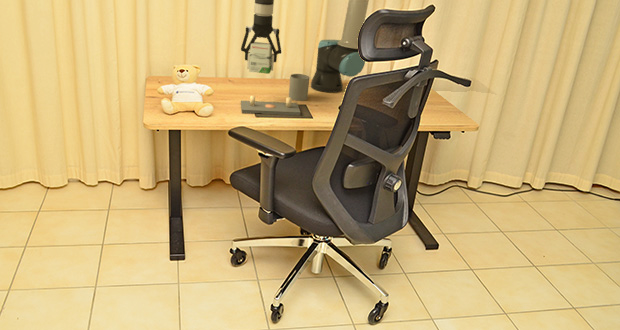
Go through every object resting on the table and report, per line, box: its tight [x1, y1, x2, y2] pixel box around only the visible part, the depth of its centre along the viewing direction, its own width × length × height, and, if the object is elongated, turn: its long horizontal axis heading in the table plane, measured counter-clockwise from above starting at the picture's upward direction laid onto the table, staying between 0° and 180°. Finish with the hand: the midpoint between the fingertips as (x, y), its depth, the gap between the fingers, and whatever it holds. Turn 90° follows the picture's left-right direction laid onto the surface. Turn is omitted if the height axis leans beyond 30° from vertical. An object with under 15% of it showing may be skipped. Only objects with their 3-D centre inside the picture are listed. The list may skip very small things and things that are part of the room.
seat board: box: [240, 95, 301, 117], centre depth 251 cm, size 24×12×6 cm, turn 98°
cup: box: [288, 73, 310, 102], centre depth 268 cm, size 8×8×10 cm
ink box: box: [248, 41, 273, 75], centre depth 249 cm, size 9×5×12 cm, turn 82°
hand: (260, 68), depth 251 cm, fingers closed on ink box, 9 cm apart
